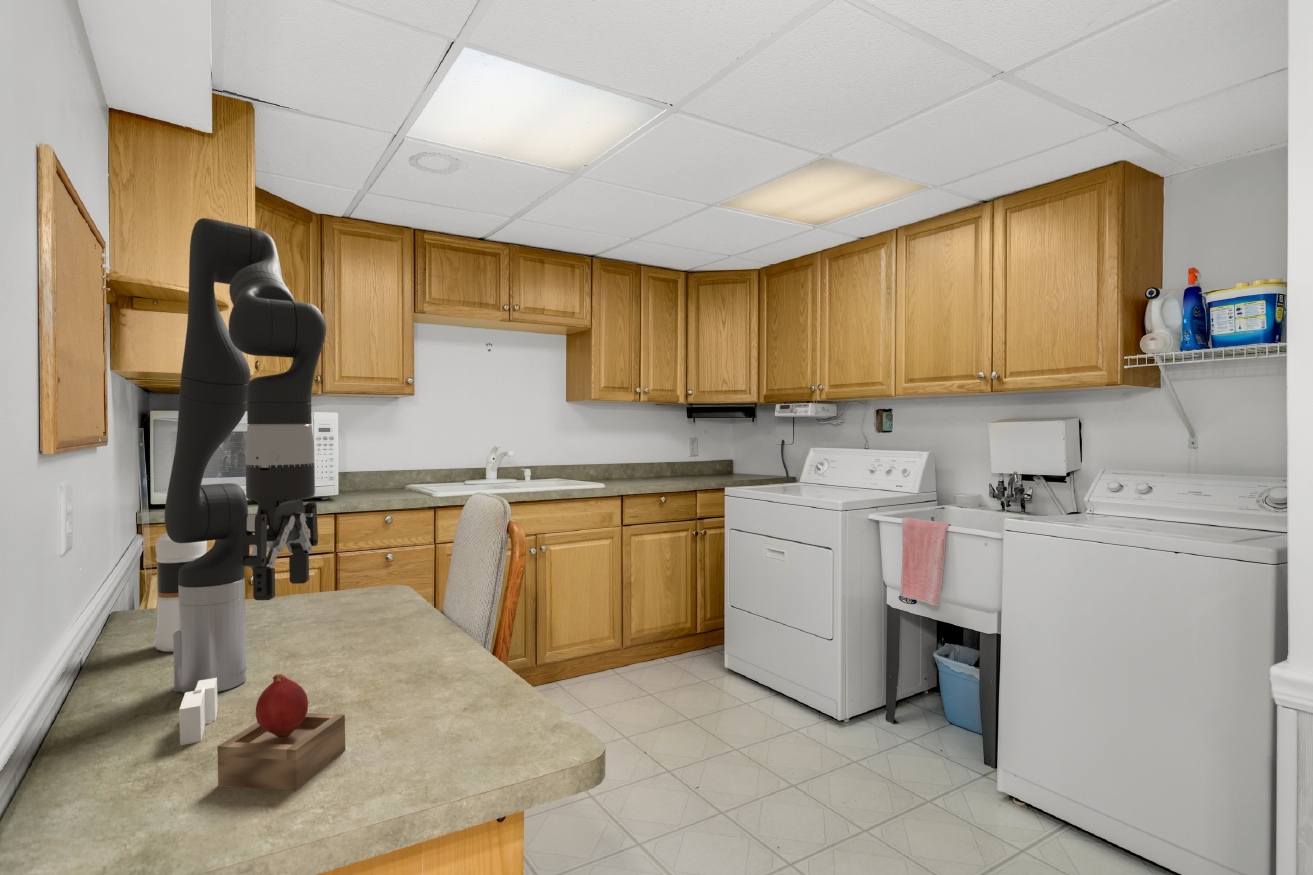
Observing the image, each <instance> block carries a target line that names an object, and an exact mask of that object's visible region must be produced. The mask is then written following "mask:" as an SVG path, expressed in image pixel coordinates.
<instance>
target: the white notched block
mask: <svg viewBox="0 0 1313 875" xmlns="http://www.w3.org/2000/svg"><path fill="white" fill-rule="evenodd" d="M218 704H219V703H218V692H217V678H212V679H206V680H199V681H198V683H197V686H196V688H195V691H191V692H185V693H184V696H183V698H182V700H181V704H180V705H179V706H180V707H179V709H178V711H179V714H178V716H179V718H178V719H179V746H183V745H188V744H194V743H199V742H202V738H203V734H204V731H205V728H206V727H205V726H206V725H210V724H212V723H213V722H215V721H216V719H217V714H218V708H219V706H218Z"/></svg>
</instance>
